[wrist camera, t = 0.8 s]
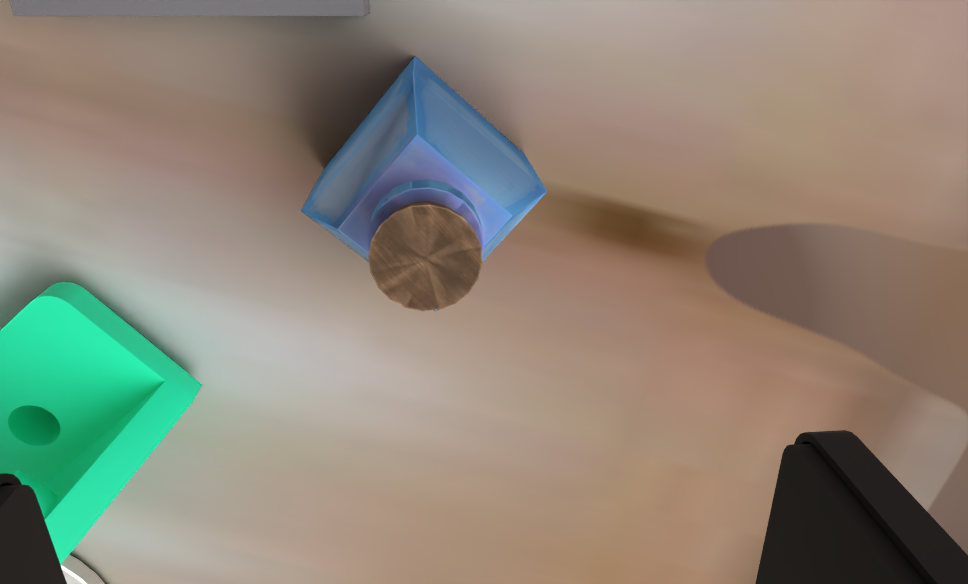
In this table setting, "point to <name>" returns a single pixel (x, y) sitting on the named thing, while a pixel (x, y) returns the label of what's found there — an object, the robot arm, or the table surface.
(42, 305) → the camera mount
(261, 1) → the camera body block
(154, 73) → the table surface
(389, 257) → the perfume bottle
